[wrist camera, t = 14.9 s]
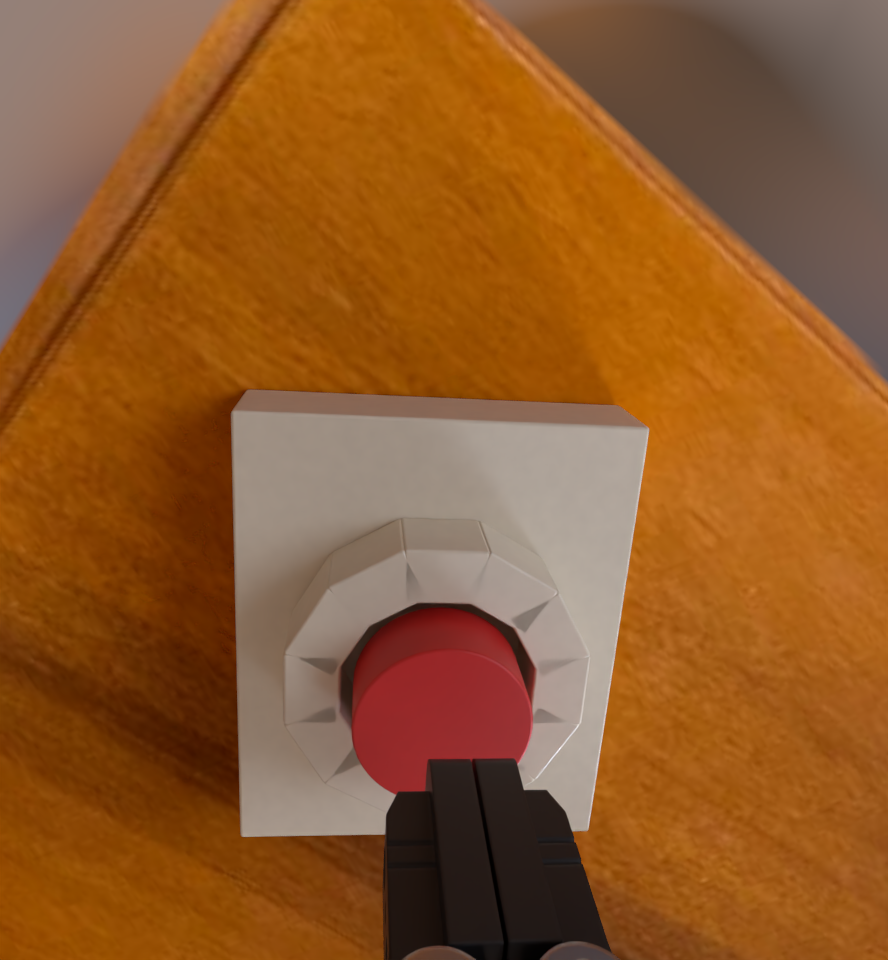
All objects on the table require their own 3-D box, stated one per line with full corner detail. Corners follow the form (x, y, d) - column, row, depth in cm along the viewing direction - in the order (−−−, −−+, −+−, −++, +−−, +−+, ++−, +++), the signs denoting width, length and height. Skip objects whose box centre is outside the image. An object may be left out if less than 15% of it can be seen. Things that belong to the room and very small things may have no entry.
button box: (245, 388, 18) (213, 433, 14) (620, 405, 19) (682, 451, 15) (252, 778, 22) (227, 897, 18) (568, 775, 22) (609, 888, 19)
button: (355, 604, 16) (353, 649, 14) (525, 607, 16) (542, 650, 15) (350, 749, 17) (349, 806, 16) (509, 748, 18) (524, 803, 16)
